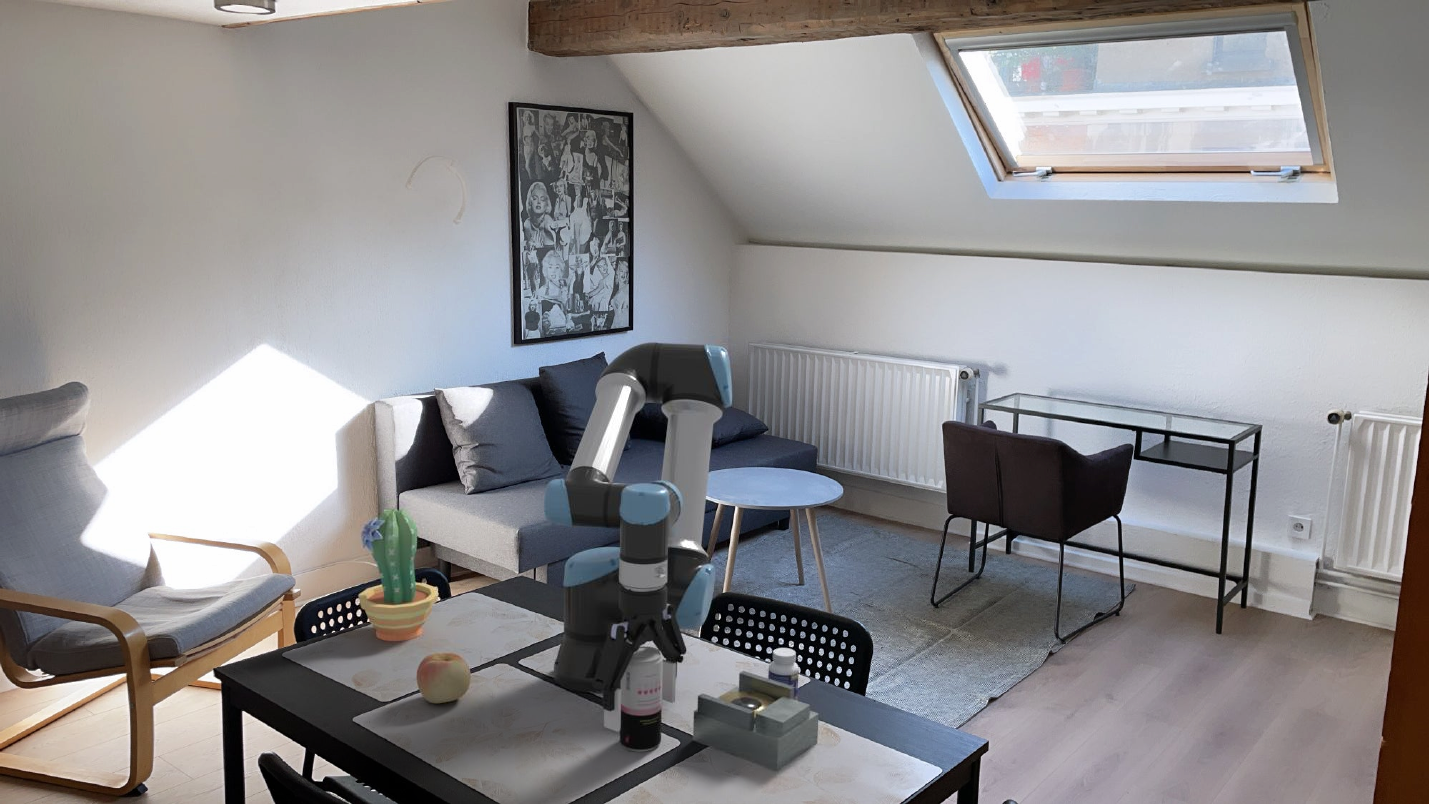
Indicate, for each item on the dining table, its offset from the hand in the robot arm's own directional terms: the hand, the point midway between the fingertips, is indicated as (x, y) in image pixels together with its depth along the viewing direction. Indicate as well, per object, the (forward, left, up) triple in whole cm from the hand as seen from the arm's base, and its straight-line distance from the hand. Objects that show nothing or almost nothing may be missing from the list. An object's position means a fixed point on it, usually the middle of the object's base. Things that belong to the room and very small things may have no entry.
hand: (640, 714), depth 174 cm
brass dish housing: (+14, +12, -5) cm, 19 cm away
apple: (-36, -9, -5) cm, 38 cm away
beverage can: (0, 0, -5) cm, 5 cm away
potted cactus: (-67, +6, -5) cm, 68 cm away
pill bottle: (+9, +28, -5) cm, 30 cm away
